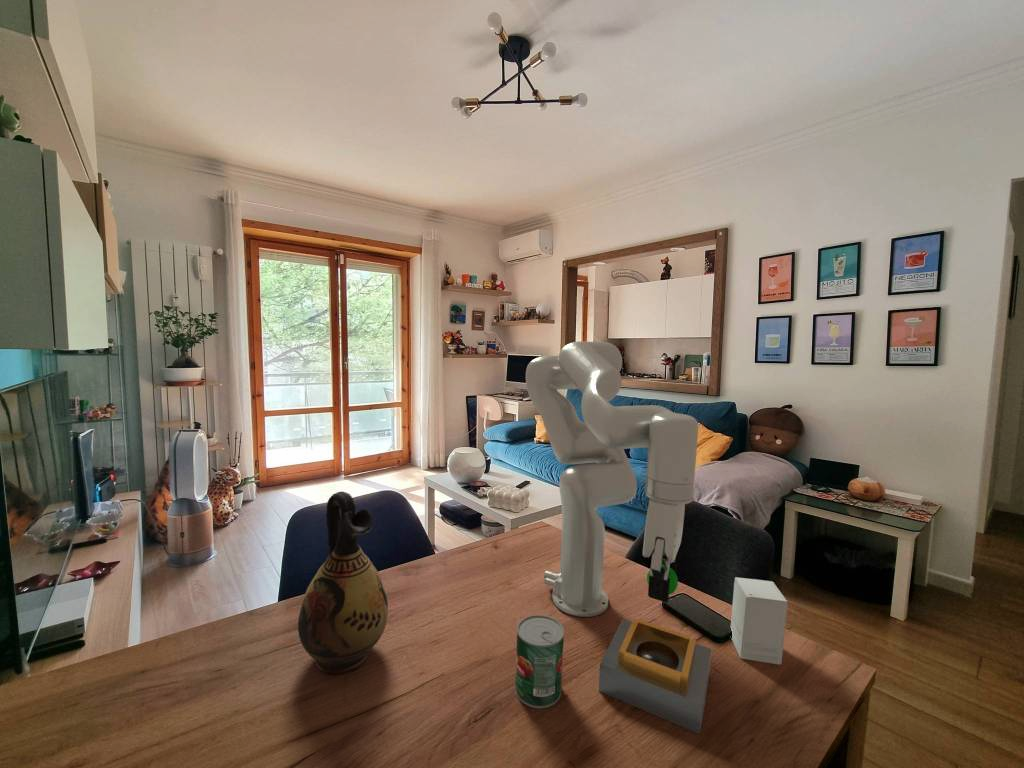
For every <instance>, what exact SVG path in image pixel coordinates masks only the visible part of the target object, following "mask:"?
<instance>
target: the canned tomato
mask: <svg viewBox="0 0 1024 768" xmlns="http://www.w3.org/2000/svg"><path fill="white" fill-rule="evenodd" d="M564 635H565V630H564V626H563V625H562V624H561V623H560V622H559V620H557V619H555V618H554V617H551V616H548V615H544V614H543V615H542V614H533V615H528V616H526V617H523V618H522V619H521V620H520V621H519V622H518V624H517V626H516V650H515V651H516V653H515V654H516V655H515V657H516V658H515V683H514V684H515V685H514V692H515V696H516V697H517V698H518V699H519V701H520V702H522V703H523V704H524V705H526V706H528V707H531V708H533V709H534V708H535V709H546V708H549V707H552V706H554V705H555V704H556V703H557V702H558V701H559V700H560V698H561V696H562V682H563V681H562V679H563V678H562V677H563V660H564V642H565V641H564V638H565V637H564Z"/></svg>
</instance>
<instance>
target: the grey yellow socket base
mask: <svg viewBox="0 0 1024 768" xmlns="http://www.w3.org/2000/svg"><path fill="white" fill-rule="evenodd" d="M711 658H712V648H710V647H707V646H704V645H701V644H698V643H697V640H696V639H694V638H692V637H691V636H690V635H687V634H685V633H684V634H683V633H682V632H678V631H675V630H671V629H669V628H667V627H663V626H661V625H657V624H654V623H651V622H648V621H645V620H641V619H638V620H637V619H633V620H632V621H629V620H627V619H624V618H622V619H621V622H620V623H619V625H618V628H617V630H616V631H615V632H614V635H613V637H612V640H611V641H610V644H609V646H608V647H607V649H606V651H605V653H604V656H603V657H602V659H601V661H600V663H599V677H598V692H599V693H602V694H604V695H606V696H609V697H612V698H614V699H616V700H618V701H620V702H623V703H625V704H628V705H629V706H633V707H634V708H637V709H640V710H642V711H643V712H646V713H649V714H651V715H654V716H655V717H659V718H661V719H663V720H665V721H668V722H670V723H672V724H674V725H677V726H680V727H682V728H683V729H687V730H689V731H691V732H693V733H696V734H698V735H701V731H702V724H703V718H704V711H705V704H706V698H707V692H708V686H709V679H710V671H711Z"/></svg>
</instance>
